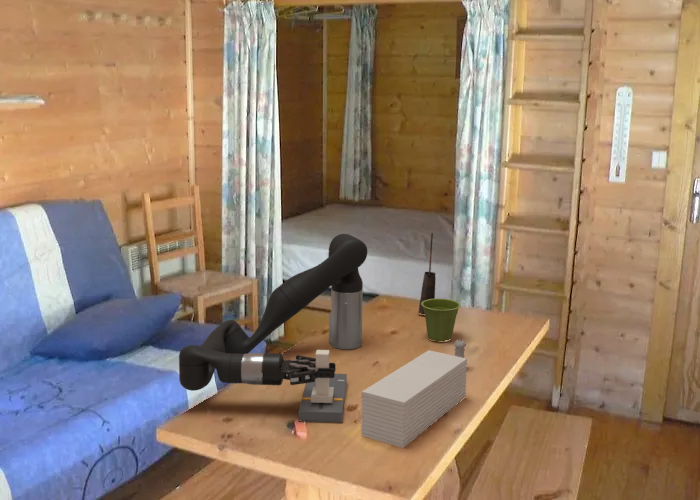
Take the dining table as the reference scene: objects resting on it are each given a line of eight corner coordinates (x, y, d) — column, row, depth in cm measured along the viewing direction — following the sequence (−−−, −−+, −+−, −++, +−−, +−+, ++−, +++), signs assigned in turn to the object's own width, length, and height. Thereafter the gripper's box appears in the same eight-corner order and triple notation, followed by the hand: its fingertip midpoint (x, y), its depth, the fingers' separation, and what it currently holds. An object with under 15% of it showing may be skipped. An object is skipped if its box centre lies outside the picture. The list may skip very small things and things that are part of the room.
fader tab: (313, 392, 187) (313, 347, 185) (333, 393, 187) (333, 348, 185) (310, 402, 181) (310, 356, 179) (332, 403, 181) (332, 356, 179)
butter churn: (433, 321, 253) (436, 238, 247) (407, 316, 258) (409, 234, 252) (444, 314, 261) (447, 233, 255) (419, 310, 266) (421, 230, 260)
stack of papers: (427, 389, 198) (428, 350, 195) (465, 399, 192) (467, 358, 190) (361, 436, 172) (361, 391, 169) (403, 449, 166) (404, 402, 164)
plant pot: (412, 339, 236) (413, 303, 233) (435, 330, 244) (436, 296, 242) (443, 348, 228) (445, 312, 225) (466, 339, 236) (468, 303, 234)
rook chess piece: (468, 367, 213) (469, 339, 211) (465, 372, 209) (466, 344, 207) (452, 365, 214) (453, 337, 213) (449, 370, 210) (450, 342, 209)
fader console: (308, 381, 202) (308, 371, 201) (346, 382, 201) (346, 372, 201) (298, 421, 178) (298, 410, 178) (341, 422, 178) (341, 411, 177)
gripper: (267, 372, 191) (336, 374, 190) (258, 395, 177) (333, 397, 176) (266, 344, 189) (336, 345, 189) (257, 364, 176) (333, 366, 175)
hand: (334, 370), depth 183 cm, fingers closed on fader tab, 3 cm apart
